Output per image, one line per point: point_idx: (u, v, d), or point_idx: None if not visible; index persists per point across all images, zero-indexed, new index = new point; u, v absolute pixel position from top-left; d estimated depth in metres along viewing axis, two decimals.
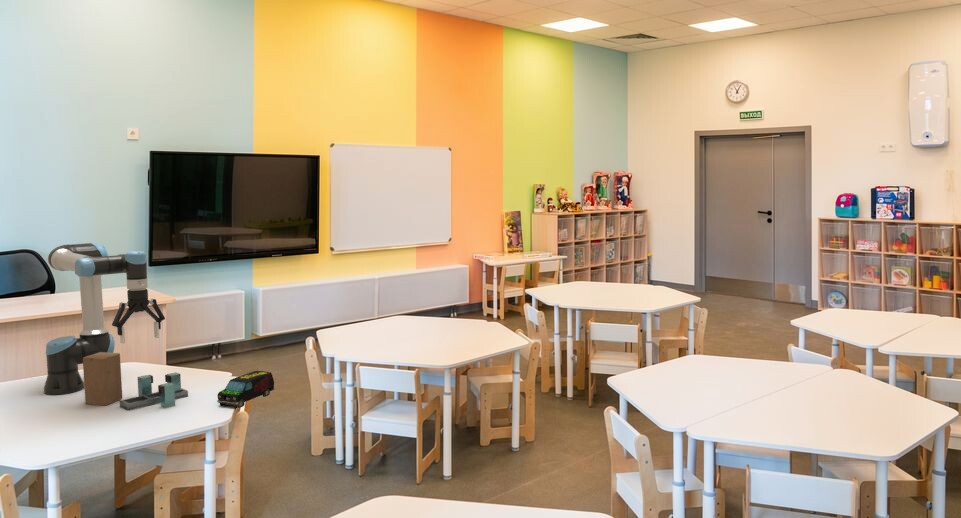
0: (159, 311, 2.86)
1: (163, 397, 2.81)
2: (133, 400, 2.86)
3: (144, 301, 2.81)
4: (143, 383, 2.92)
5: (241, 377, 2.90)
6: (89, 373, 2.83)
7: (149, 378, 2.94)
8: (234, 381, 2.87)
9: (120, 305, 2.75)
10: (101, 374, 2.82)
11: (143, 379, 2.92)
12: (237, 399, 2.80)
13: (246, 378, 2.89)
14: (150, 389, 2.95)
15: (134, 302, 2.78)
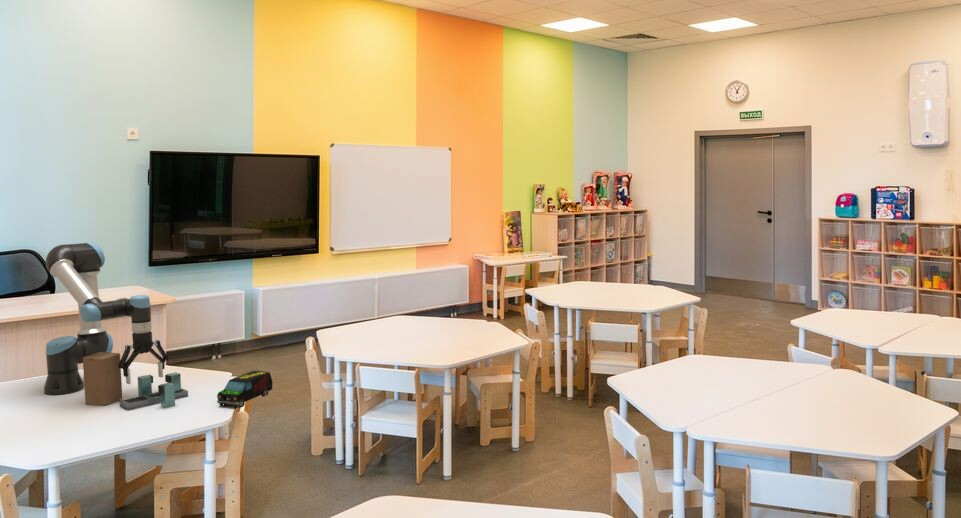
0: (163, 352, 2.98)
1: (163, 397, 2.81)
2: (133, 400, 2.86)
3: (148, 343, 2.94)
4: (143, 383, 2.92)
5: (240, 377, 2.90)
6: (89, 373, 2.83)
7: (149, 378, 2.94)
8: (233, 381, 2.86)
9: (126, 348, 2.88)
10: (102, 374, 2.82)
11: (143, 379, 2.92)
12: (238, 399, 2.80)
13: (245, 378, 2.89)
14: (150, 389, 2.95)
15: (139, 344, 2.91)
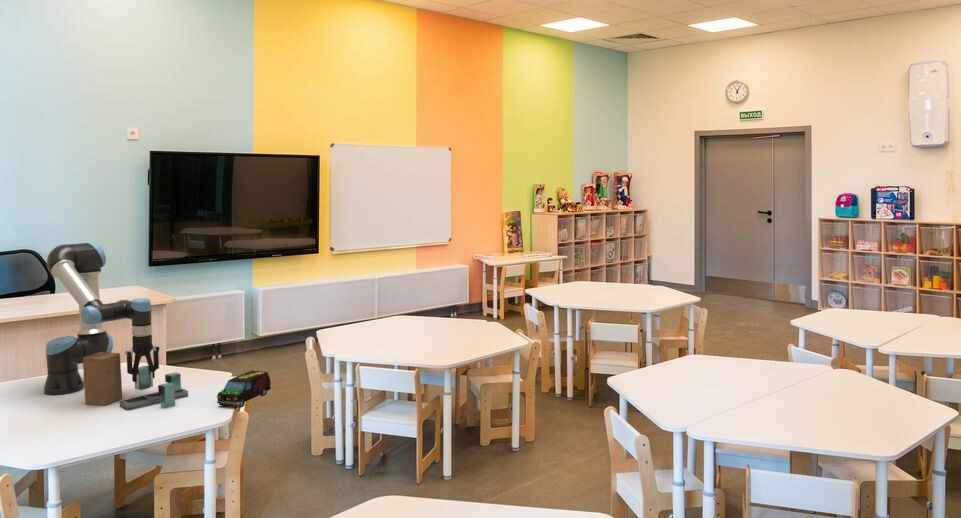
0: (157, 359, 2.97)
1: (163, 397, 2.81)
2: (133, 400, 2.86)
3: (149, 345, 2.94)
4: (140, 375, 2.92)
5: (239, 377, 2.90)
6: (89, 373, 2.83)
7: (146, 369, 2.93)
8: (233, 381, 2.86)
9: (126, 354, 2.88)
10: (101, 374, 2.82)
11: (140, 370, 2.92)
12: (238, 399, 2.80)
13: (245, 378, 2.89)
14: (148, 380, 2.94)
15: (138, 346, 2.90)
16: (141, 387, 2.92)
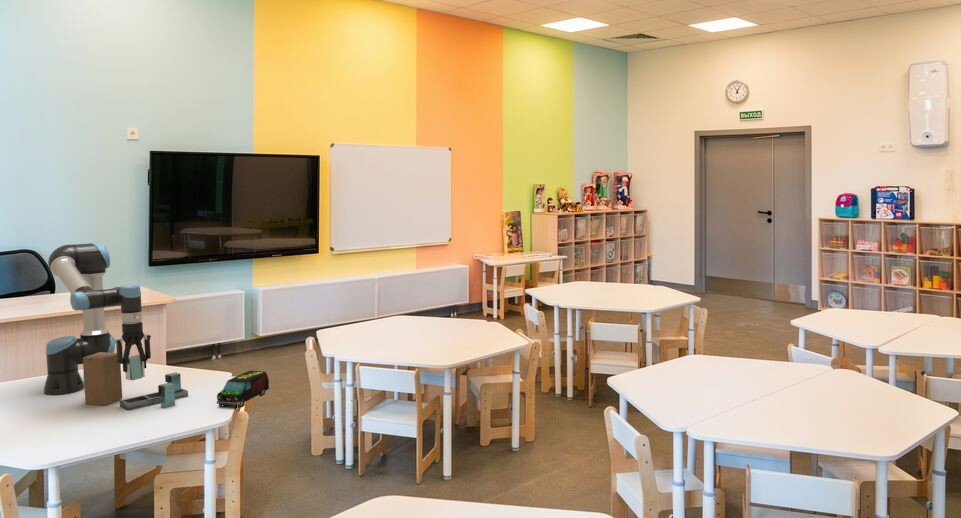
0: (148, 348, 2.85)
1: (163, 397, 2.81)
2: (133, 400, 2.86)
3: (139, 333, 2.82)
4: (131, 364, 2.79)
5: (238, 377, 2.90)
6: (89, 373, 2.83)
7: (138, 358, 2.81)
8: (233, 381, 2.86)
9: (116, 343, 2.76)
10: (101, 374, 2.82)
11: (131, 360, 2.79)
12: (239, 399, 2.80)
13: (244, 378, 2.89)
14: (139, 370, 2.81)
15: (128, 334, 2.78)
16: (132, 377, 2.80)
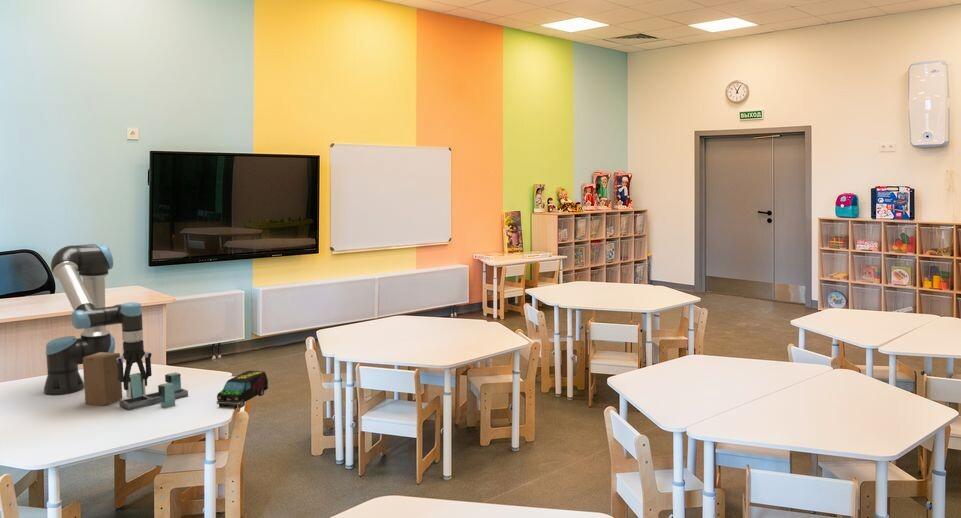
0: (149, 366, 2.85)
1: (163, 397, 2.81)
2: (133, 400, 2.86)
3: (140, 351, 2.82)
4: (132, 382, 2.80)
5: (238, 377, 2.90)
6: (89, 373, 2.83)
7: (138, 376, 2.82)
8: (232, 382, 2.86)
9: (117, 361, 2.77)
10: (101, 374, 2.82)
11: (132, 378, 2.80)
12: (239, 399, 2.80)
13: (244, 378, 2.89)
14: (140, 387, 2.82)
15: (129, 353, 2.79)
16: (133, 395, 2.80)
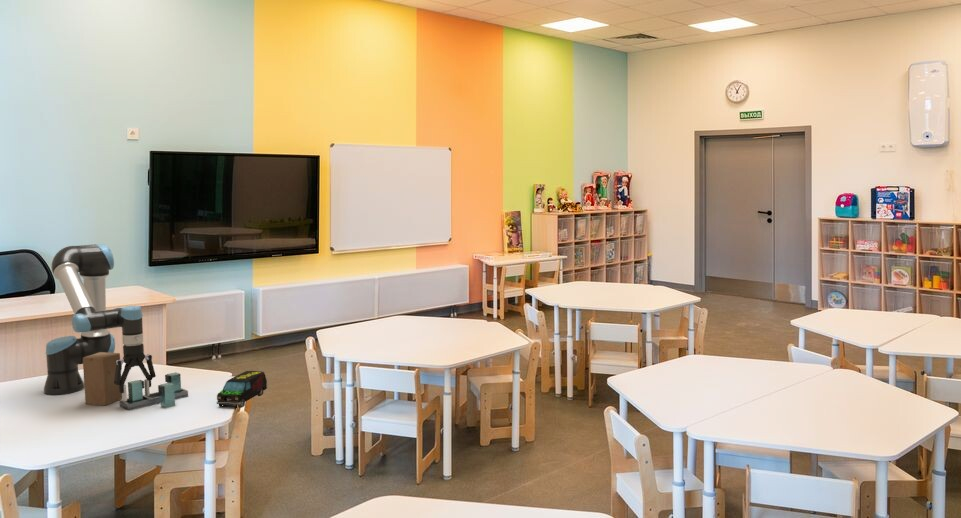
0: (152, 368, 2.86)
1: (163, 397, 2.81)
2: None
3: (140, 355, 2.83)
4: (133, 389, 2.80)
5: (237, 377, 2.90)
6: (89, 373, 2.83)
7: (140, 383, 2.82)
8: (232, 382, 2.86)
9: (116, 363, 2.77)
10: (101, 374, 2.82)
11: (133, 384, 2.80)
12: (239, 399, 2.80)
13: (243, 378, 2.89)
14: (141, 395, 2.83)
15: (129, 357, 2.79)
16: None
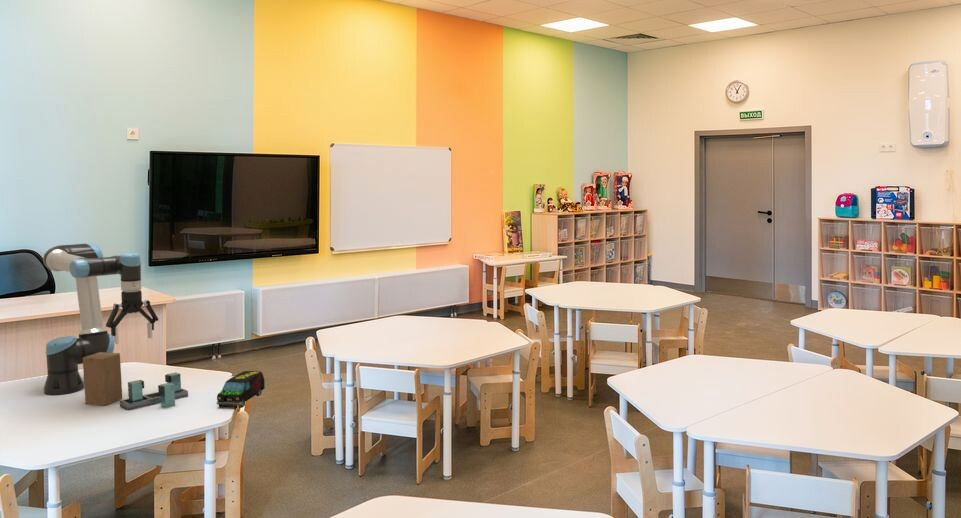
0: (152, 312, 2.90)
1: (163, 397, 2.81)
2: None
3: (138, 302, 2.86)
4: (133, 389, 2.80)
5: (236, 378, 2.90)
6: (89, 373, 2.83)
7: (140, 383, 2.82)
8: (232, 382, 2.85)
9: (114, 306, 2.80)
10: (101, 374, 2.82)
11: (133, 384, 2.80)
12: (240, 399, 2.80)
13: (243, 378, 2.89)
14: (141, 395, 2.83)
15: (128, 303, 2.83)
16: None
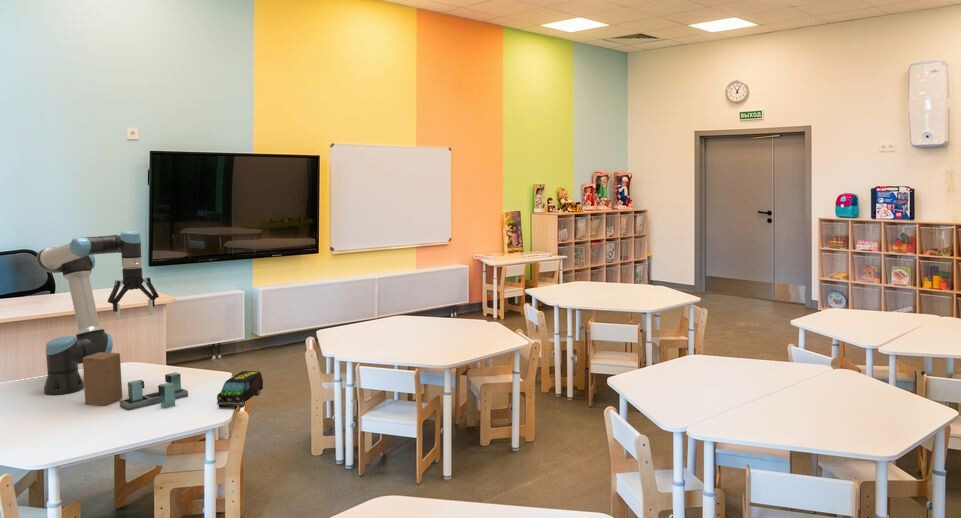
0: (153, 289, 2.98)
1: (163, 397, 2.81)
2: None
3: (138, 279, 2.93)
4: (133, 389, 2.80)
5: (235, 378, 2.89)
6: (89, 373, 2.83)
7: (140, 383, 2.82)
8: (231, 382, 2.85)
9: (115, 283, 2.87)
10: (101, 374, 2.82)
11: (133, 384, 2.80)
12: (241, 399, 2.80)
13: (242, 378, 2.89)
14: (141, 395, 2.83)
15: (129, 280, 2.90)
16: None
